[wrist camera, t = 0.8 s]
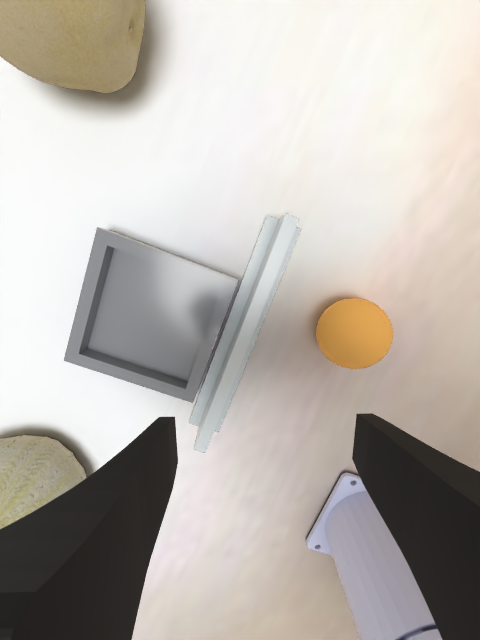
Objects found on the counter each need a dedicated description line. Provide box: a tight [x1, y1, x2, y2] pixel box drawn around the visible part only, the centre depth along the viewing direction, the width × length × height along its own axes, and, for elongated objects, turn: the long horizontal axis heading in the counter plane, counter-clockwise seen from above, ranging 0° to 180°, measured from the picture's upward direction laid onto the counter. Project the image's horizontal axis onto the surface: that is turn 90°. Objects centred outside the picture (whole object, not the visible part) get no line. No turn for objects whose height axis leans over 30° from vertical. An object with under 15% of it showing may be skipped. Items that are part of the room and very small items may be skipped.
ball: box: [316, 298, 393, 369], centre depth 17 cm, size 4×4×4 cm
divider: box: [189, 213, 301, 453], centre depth 18 cm, size 2×16×3 cm, turn 159°
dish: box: [64, 227, 238, 403], centre depth 18 cm, size 9×9×2 cm
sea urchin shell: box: [0, 434, 87, 529], centre depth 20 cm, size 9×8×8 cm
